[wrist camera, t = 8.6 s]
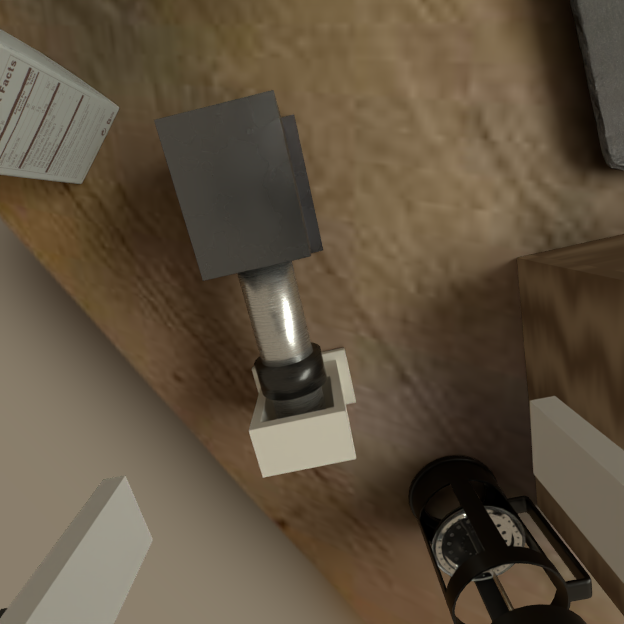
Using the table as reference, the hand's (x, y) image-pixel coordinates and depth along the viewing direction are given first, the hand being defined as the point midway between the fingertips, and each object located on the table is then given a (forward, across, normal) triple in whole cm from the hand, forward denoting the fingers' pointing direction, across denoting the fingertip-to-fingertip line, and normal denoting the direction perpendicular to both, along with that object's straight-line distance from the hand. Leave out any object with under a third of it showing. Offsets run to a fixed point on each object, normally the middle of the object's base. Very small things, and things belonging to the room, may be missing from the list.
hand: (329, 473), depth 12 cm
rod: (+19, -3, -1) cm, 19 cm away
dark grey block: (+23, -3, +10) cm, 25 cm away
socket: (+23, -3, -8) cm, 24 cm away
